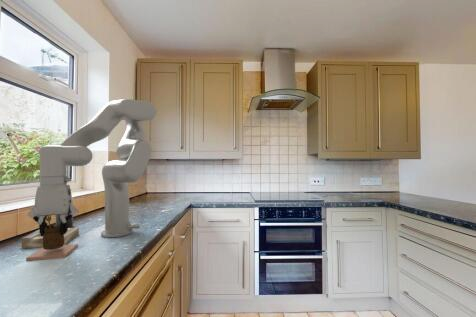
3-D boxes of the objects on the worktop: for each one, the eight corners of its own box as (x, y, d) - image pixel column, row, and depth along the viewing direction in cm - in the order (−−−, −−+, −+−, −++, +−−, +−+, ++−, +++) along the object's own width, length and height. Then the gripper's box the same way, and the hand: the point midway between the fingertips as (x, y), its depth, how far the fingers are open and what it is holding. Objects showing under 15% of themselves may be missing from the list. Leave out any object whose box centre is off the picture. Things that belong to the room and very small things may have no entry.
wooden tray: (78, 234, 111) (78, 226, 111) (64, 244, 97) (64, 235, 98) (41, 237, 108) (41, 228, 108) (21, 248, 94) (21, 238, 94)
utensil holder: (50, 251, 85) (50, 214, 85) (38, 248, 87) (37, 213, 87) (68, 245, 90) (68, 211, 90) (56, 243, 93) (55, 209, 93)
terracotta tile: (77, 246, 95) (77, 243, 95) (65, 257, 85) (65, 254, 85) (43, 249, 93) (43, 246, 93) (26, 260, 82) (26, 257, 82)
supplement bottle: (70, 225, 128) (69, 200, 128) (75, 227, 124) (75, 202, 124) (53, 228, 123) (53, 202, 123) (58, 230, 118) (58, 204, 118)
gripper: (84, 180, 95) (85, 229, 94) (30, 181, 91) (31, 233, 90) (77, 181, 87) (77, 235, 87) (17, 183, 83) (18, 239, 83)
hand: (53, 234), depth 89 cm, fingers closed on utensil holder, 5 cm apart
